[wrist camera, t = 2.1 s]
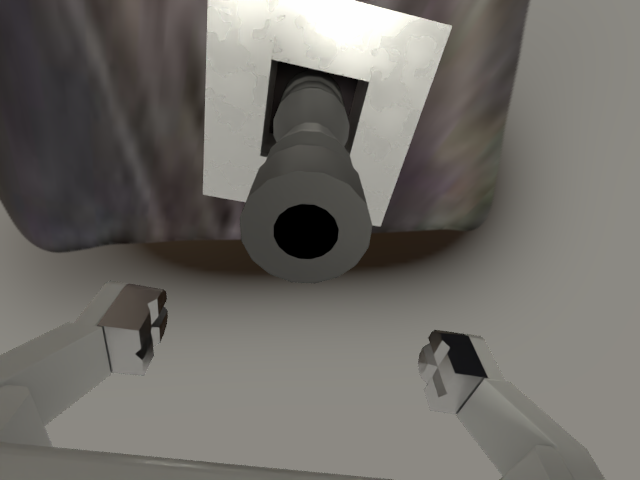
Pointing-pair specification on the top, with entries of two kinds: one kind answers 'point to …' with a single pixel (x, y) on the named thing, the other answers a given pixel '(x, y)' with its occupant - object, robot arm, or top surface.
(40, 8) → the top surface
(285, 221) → the candle holder
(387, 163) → the sleeve block
